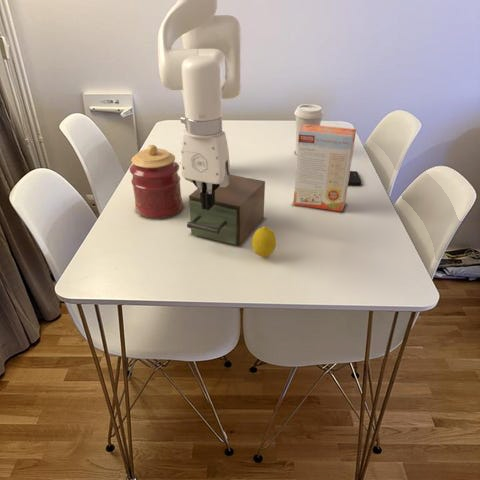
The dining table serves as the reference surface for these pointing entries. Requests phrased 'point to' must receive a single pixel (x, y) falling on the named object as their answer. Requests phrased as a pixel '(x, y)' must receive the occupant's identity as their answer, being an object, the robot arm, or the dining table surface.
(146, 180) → the kitchen canister
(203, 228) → the drawer
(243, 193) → the cabinet
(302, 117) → the coffee cup
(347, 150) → the cracker box
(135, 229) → the dining table surface
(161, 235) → the dining table surface
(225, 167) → the robot arm
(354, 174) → the cell phone
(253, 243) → the lemon
